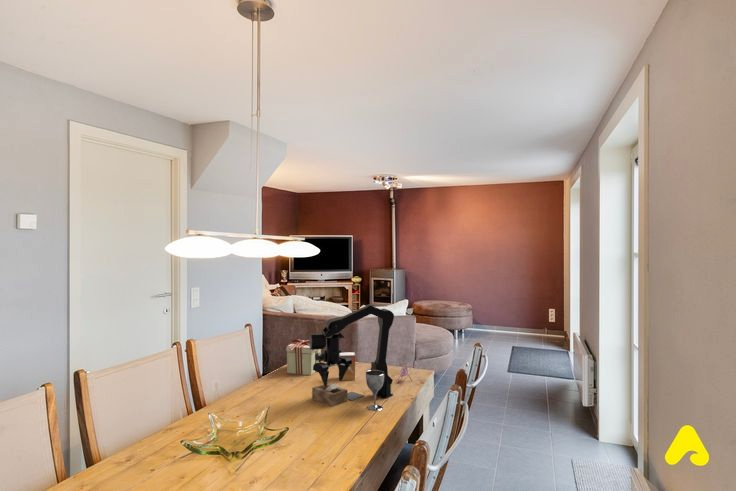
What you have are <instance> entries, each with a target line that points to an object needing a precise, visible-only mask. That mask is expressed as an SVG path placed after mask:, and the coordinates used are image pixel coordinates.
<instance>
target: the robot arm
mask: <svg viewBox="0 0 736 491" xmlns="http://www.w3.org/2000/svg"><path fill="white" fill-rule="evenodd" d="M370 315H373V316H374V317H377V323H378V327H379V328H378V329H379V330H378V338H377V339H378V340H377V347H376V348H377V349H376V357H375V359H374V361H371V362H370V363H371V367H370V370H380V371H383V372H384V383H383V386H382V388H381V389H380V390H379V391H378V393H377V395H376V397H378V398H382V399H388V398H389V397H392V396H394V394H393V393H392V384H393V381H394V380H393V378H391V376H389V372H388V370H389V369H388V365H387V356H388V345H389V344H388V343H389V335H390V329H391V327H392V325H393V323H394V320H395V314H394V313H393V311H392V310H389V309H387V308H378V307H375V306H374V305H372V304H366V305H364V306H363V307H360V308H358V309H356V310H354V311H352V312H350V313H347V314H345V315H343V316H337V317H334V318H330V319H328V320H327V321H326V322H325V326H324V328H323V329H322V331H321V333H310V337H309V339H308V340H309V346H310V350H316V349H321V350H324V349H325V348H326V349H325V350H324V351H323V353H322V352H321V353H316V354H315V360H316V361H317V360H318V361H319V363H315V364H314V365H313V370H315V371H316V372H315V373H318V374H319V376H320V377H321V380H322V383H323V384H324V386H326V385H327V383H328V379H329V373H330V371H329V368H331V367H335V366H337V367H338V380H339V381H340V382H342V381H343V380H342V379H343V377H344V375H345V373H346V371H347V369H348V367H349V366H350V364H352V359H351V358H350V357H346V356H342V357H339V353H342V350H340V341H341V340H340V339H342V338H343V339H344V338H345V336H344V335H343V334H342V332H341V331H342V330H344V329H345V328H346V327H347V326H348V325H351V324H352V323H355V322H357V321H359V320H362V319H364V318H366V317H368V316H370ZM323 384H322V385H323Z"/></svg>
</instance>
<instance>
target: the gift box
mask: <svg viewBox="0 0 736 491" xmlns="http://www.w3.org/2000/svg"><path fill="white" fill-rule="evenodd" d="M309 340H310V339H307V340H302V339H298V338H297V339H296V338H295V339H291V340H290V342H292V343H290V344H288V345H287V346H286V347H285V348H286V349H285V350H286V351H285V352H286V373H287V374H292V375H303V376H312V375H314V373H317V372H316V371H315V370H313V365H314V364H315V363H319V361H318V360H317V361H316V360H315V354H316V353H321V354H322V349H316V350H310V346H309Z"/></svg>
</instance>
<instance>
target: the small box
mask: <svg viewBox="0 0 736 491" xmlns="http://www.w3.org/2000/svg"><path fill="white" fill-rule="evenodd" d="M342 356H346V357H350V358H351V359H352V364H350V366H349V367H348V369H347V371H346V373H345V375H344V377H343V379H342V381H355V380H356V353H355V351H353V352H349V351H347V352H341V353H339V357H342Z"/></svg>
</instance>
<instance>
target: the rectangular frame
mask: <svg viewBox="0 0 736 491" xmlns="http://www.w3.org/2000/svg"><path fill="white" fill-rule="evenodd" d="M330 385H332V384H331V383H328V382H327V385H326V386H324V384H320V385H318V386H314V387H312V388H311V390H312V391H311V392H312V393H311V399H312V400H314V401H317V402H318V403H322V404H325V405H327V406H329V407H335V406H339V405H340V404H341V405H342V404H344V403H346V402H348V399H347V393H348V389H346V388H343V387H340V386H338V388H337V389H336V390H335V391H334V392H329V391H326V390H325V389H326V388H327V387H329V386H330Z"/></svg>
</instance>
